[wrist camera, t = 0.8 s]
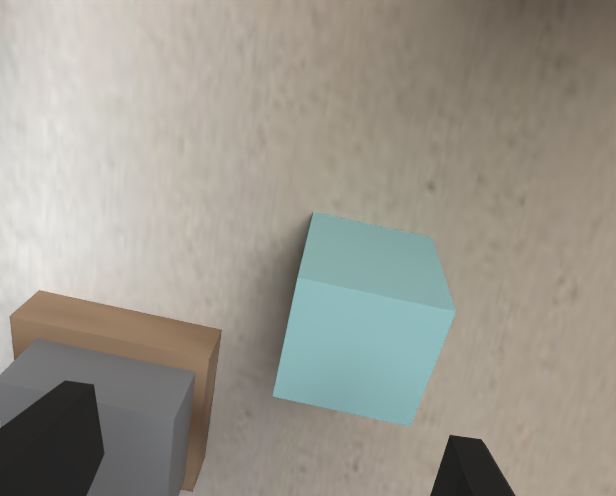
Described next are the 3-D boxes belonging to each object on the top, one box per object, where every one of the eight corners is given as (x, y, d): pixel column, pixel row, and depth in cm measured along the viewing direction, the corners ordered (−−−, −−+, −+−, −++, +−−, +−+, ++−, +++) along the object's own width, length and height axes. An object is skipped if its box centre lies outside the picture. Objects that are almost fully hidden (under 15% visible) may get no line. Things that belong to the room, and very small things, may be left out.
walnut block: (207, 448, 25) (192, 491, 22) (55, 415, 25) (25, 455, 22) (224, 322, 21) (209, 359, 19) (46, 284, 21) (9, 316, 19)
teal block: (399, 333, 20) (410, 426, 15) (292, 310, 20) (272, 396, 15) (432, 236, 18) (456, 312, 13) (313, 211, 18) (297, 277, 13)
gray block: (184, 479, 22) (164, 532, 20) (45, 450, 22) (10, 499, 20) (195, 372, 19) (174, 419, 17) (36, 338, 19) (-6, 380, 17)
